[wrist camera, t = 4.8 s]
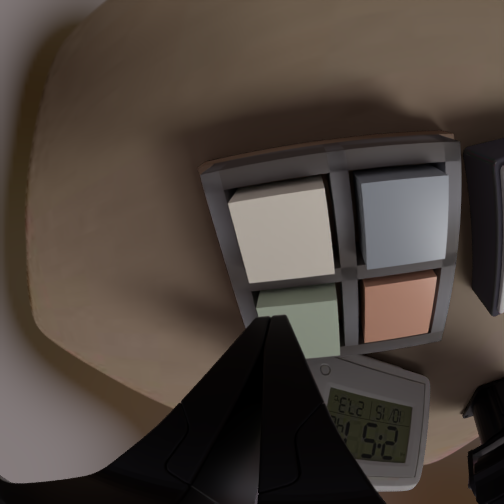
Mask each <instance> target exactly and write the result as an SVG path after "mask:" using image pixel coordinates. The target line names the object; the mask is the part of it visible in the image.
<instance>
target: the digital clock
mask: <svg viewBox="0 0 504 504" xmlns="http://www.w3.org/2000/svg"><path fill="white" fill-rule="evenodd" d="M307 363H308V365H309V367H310V369H311V372H312V374H313V376H314V379H315V381H316V383H317V385H318V388H319V390H320V392H321V395H322V397H323V399H324V403H325V404H326V406H327V408H328V410H329V413H330V415H331V417H332V419H333V421H334V423H335V426H336V428H337V430H338V432H339V433H340V435H341V437H342V439H343V440H344V442H345V444H346V445H347V447H348V449H349V450H350V452H351V453H352V455H353V456H354V458H355V459H356V461H357V462H358V464H359V465H360V467H361V468H362V470H363V471H364V473H365V474H366V476H367V477H368V479H369V480H370V482H371V483H372V485H373V486H374V488H375V489H376V491H377V492H379V491H406V490H410V489H412V488H413V487H415V486H416V484H417V483H418V481H419V479H420V476H421V472H422V467H423V461H424V455H425V447H426V439H427V430H428V419H429V406H430V382H429V379H428V378H427V377H425V376H423V375H420V374H417V373H414V372H411V371H407V370H404V369H401V367H398V366H395V365H392V364H389V363H386V362H383V361H380V360H377V359H374V358H371V357H368V356H365V355H362V354H359V355H351V356H342V357H333V358H322V359H311V360H307Z"/></svg>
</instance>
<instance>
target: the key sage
mask: <svg viewBox="0 0 504 504" xmlns="http://www.w3.org/2000/svg"><path fill="white" fill-rule="evenodd" d="M256 310H257V313H258V317H260V316H270V317H272V316H273V315H283V314H285V315H287V317H288V319H289V322H290V324H291V326H292V328H293V331H294V333H295V335H296V337H297V340H298V342H299V344H300V347H301V349H302V351H303V353H304V356H305V358H318V357H329V356H339V355H340V339H339V321H338V306H337V295H336V288H335V282H334V283H325V284H317V285H308V286H299V287H290V288H280V289H270V290H260V293H259V297H258V302H257V306H256Z"/></svg>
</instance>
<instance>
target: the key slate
mask: <svg viewBox="0 0 504 504" xmlns="http://www.w3.org/2000/svg"><path fill="white" fill-rule="evenodd" d="M353 179H354V188H355V197H356V207H357V218H358V231H359V245H360V250H361V253H362V256H363V259H364V262H365V265H366V268H367V270H369V269H377V268H384V267H391V266H398V265H405V264H412V263H419V262H426V261H433V260H439V259H445V254H446V243H447V229H448V206H449V175H447V174H446V173H444V172H442V171H441V170H439V169H437V168H436V167H434V166H432V165H431V164H420V165H407V166H396V167H386V168H376V169H366V170H358V171H353Z"/></svg>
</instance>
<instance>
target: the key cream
mask: <svg viewBox="0 0 504 504" xmlns="http://www.w3.org/2000/svg"><path fill="white" fill-rule="evenodd" d="M228 206H229V210H230V214H231V217H232V221H233V225H234V229H235V232H236V236H237V240H238V243H239V247H240V251H241V255H242V258H243V262H244V266H245V269H246V273H247V277H248V280H249V283H257V282H267V281H277V280H286V279H295V278H304V277H312V276H321V275H329V274H335V270H334V260H333V250H332V241H331V233H330V225H329V217H328V209H327V202H326V195H325V188H324V184H323V180H322V177H321V175H318V176H311V177H304V178H297V179H291V180H284V181H278V182H272V183H266V184H260V185H254V186H249V187H243V188H238V189H237V191H236V192H235V194H234V195H233V197H232V198H231V199H230V201H229V202H228Z"/></svg>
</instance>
